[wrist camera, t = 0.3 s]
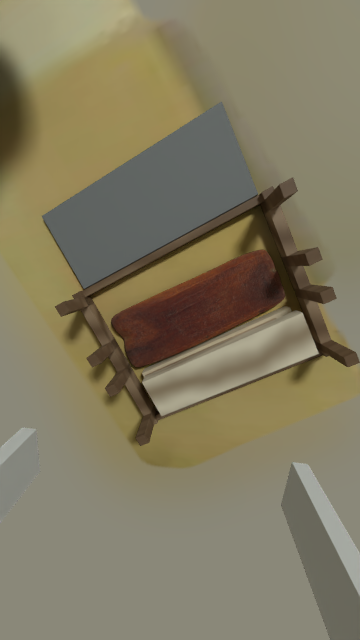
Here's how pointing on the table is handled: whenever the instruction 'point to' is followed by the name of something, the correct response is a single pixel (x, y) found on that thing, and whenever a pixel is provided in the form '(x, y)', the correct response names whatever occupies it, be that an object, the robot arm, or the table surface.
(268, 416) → the table surface
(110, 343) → the rack
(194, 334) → the wooden tablet
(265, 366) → the offcut stack
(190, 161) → the mat
